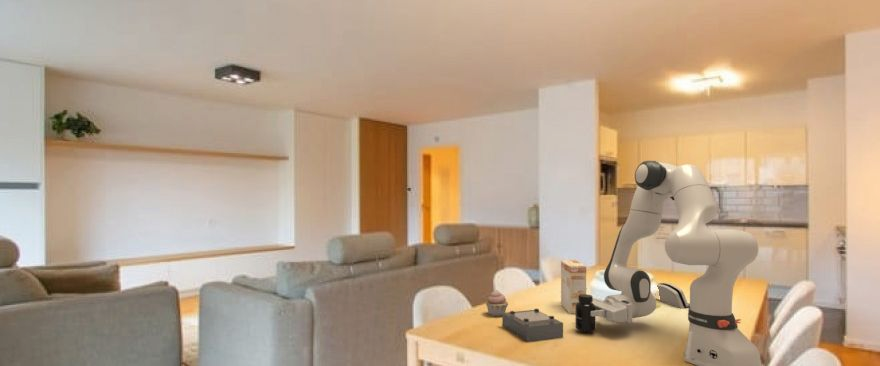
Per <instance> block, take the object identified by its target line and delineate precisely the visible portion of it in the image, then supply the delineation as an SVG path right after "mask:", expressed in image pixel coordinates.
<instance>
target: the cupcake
mask: <svg viewBox="0 0 880 366" xmlns="http://www.w3.org/2000/svg"><path fill="white" fill-rule="evenodd" d="M485 305H486V307H487V312H488V315H489V316H491V317H494V318H495V317H498V318H499V317H500V318H501V317H502V313H506V311H507V308H508V305H509V303H508V301H507V299H506V297H505V295H504V294H503V293H501V292H500V291H499V290H498V289H495V290H493V291H491V293H490V294H489V296H488V297H487V301H485Z"/></svg>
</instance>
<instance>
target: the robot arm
mask: <svg viewBox="0 0 880 366" xmlns="http://www.w3.org/2000/svg"><path fill="white" fill-rule="evenodd" d="M634 180H635V184H636V185H637V187H636V188H635V191H634V194H633V197H632V200H631V204H630V210H629V214H628V217H627V219H626V221H625V223H624V225H623V226H621V228H620V230H619V232H618V235H617V237H616V241H615V244H614V247H613V250H612V254H611V257H610V259H609V262H608V264H607V265H606V268H605V269H604V273H603V280H604V283H605V285H606V286H607V288H608V289H610V290H613V291H618V292H621V293H620V294H609V295H607V296H605V298H604V299H603V300H602V299H600V298H595V297H593V302H592V303H593V304H594V305H595V308H596V311H594V310H591V311H589V315H590V316H592V317H593V316H595V317H599V318H603V319H606V320H608V321H611V322H616V323H620V322H623V323H625V322H626V323H632V322H633V319H636V318H642V317H643V318H644V317H646V316H651V314H653V313H654V312H655V311H656V308H657V298H656V296H654V294H653V293H652V290H651V288H652V287H651V286H652V283H651V278H650V276H649V275H648V273H647V272H645V271H644V270H640V269H637V268H633V267H630V266H627V265H628V260H629V256H630V253H631V251H632V247H633V246H634V244H635V243H636V242H637V241H639V240H641V239H644V238H649V237H650V236H653V235H654V234H655V233H657V232H658V230H659V228H660V226H661V222H662V217H663V210H664V204H665V202H666V201H667V200H668V199H669V198H670V199H671V200H672V201H674V202H675V203H674V204H675V206H676V210H677V214H678V223H677V224H676V227H675V228H674V229H673V230H672V231H670V233H668V235H667V237H666V238H665V241H664V250H665V251H664V252H665V254H666V255H667V256H668V258H669V259H670V260H671V262H673V263H677V264H682V265H686V266H687V265H688V266H707V269H706V270H705V272H704V274H702V275H700V276H698V277H696V278H695V279H694V280H692V282H691V283H690V286H689V304H690V308H689V307H688V309H687V311H688V313H687V321H688V323H689V324H688V325H689V326H688V333H687V340H686V345H685V348H684V352H683V356H684V361H685V362H687V363H690V364H692V365H695V366H765V364H764V365H763V364H762V361H761V360H762V359H761V355H760V351H759V349H758V347H757V346H756V345H755V344H754V343H753V342H752V341H751V340H750V339H748V337H747V336H745V334H744V333H743V332H742V331H741V330H740V329H739V328H738V327H739V326H738V324H741V321H742V319H741V318H738V319H736V318H735V315H734V313H733V294H734V287H735V283H736V282H737V278H738V277H739V275H740V274H741V272H742V271H743V270H744V269H745V268H746V267H747V266H749V264H751V263H753V262H754V261H755V260H756V258H757V257H758V254H759V244H758V241H757V239H756V237H754V235H753V234H752V233H750V232H749V231H744V230H739V229H735V228H708V226H707V225H706V224H708V223H710V222H712V221H713V219H715V218H716V216H717V214H718V205H717V203H716V200H715V198H714V195H713V193H712V188H711V187H710V185H709V182H708V180H707V179H706V176H705V175H704V174H703V173H702V170H701V169H700V168H699V167H698V166H697V165H694V164H689V163H685V164H681V165H679V166H677V165H675V164H674V165H673V164H671V163H667V162H660V161H656V160H644V161H642V162H641V163H640V164H639V165H638V166H637V167H636V169H635V172H634ZM578 302H579V300H578ZM575 310H576V306H575Z"/></svg>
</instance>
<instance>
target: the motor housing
mask: <svg viewBox="0 0 880 366" xmlns="http://www.w3.org/2000/svg"><path fill="white" fill-rule="evenodd" d="M501 317H502V320H501V321H502V322H501V324H502V328H504V329H506V330H507V331H509V332H510V333H511V334H514V335H515V336H517V337H519V338H520V339H522V341H525V342H526V343H530V342H531V343H532V342H538V341H539V342H540V341H546V340H547V341H548V340H555V339H562V338H564V323H563V322H562V321H560V320H558V319H557V318H555V316H553V315H547V314H546V313H543V312H542V311H540V309H539V308H533V309H529V310H527V309H526V310H521V311H520V310H519V311H518V310H517V311H514V310H510V311H509V312H505V313H502V316H501Z"/></svg>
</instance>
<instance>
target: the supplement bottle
mask: <svg viewBox="0 0 880 366" xmlns="http://www.w3.org/2000/svg"><path fill="white" fill-rule="evenodd" d="M593 298H594V296H593V295H591V294H587V293H586V294H580V295H579V299H578V300H579V302H578V303H576V310H575V314H574V316H575V318H574V319H575V320H574V321H575V325H574V326H575V329H576V330H577V331H580V332H582V333H583V332H585V333H592V332H594V331H596V316H593V317H592V316H590V315H589V311H591V310H594V311H596V308H595V305H594V304H593V303H592V302H593Z"/></svg>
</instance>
